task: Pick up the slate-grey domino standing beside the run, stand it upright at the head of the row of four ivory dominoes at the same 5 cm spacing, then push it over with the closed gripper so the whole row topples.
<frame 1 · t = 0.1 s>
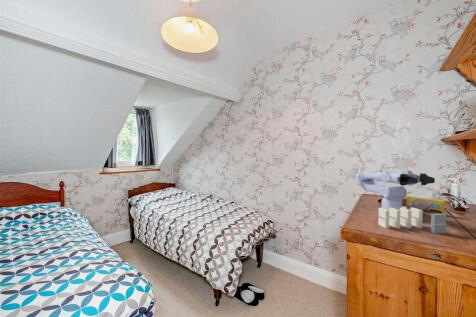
hand: (425, 180, 96), 22 cm above the cabinet, tool horizontal, fingers open, 7 cm apart
ivory domino 3: (394, 226, 100), on the cabinet
candy box: (424, 213, 120), on the cabinet
ivory domino 1: (415, 226, 100), on the cabinet
slate domino: (438, 232, 92), on the cabinet
ivory domino 2: (405, 226, 100), on the cabinet
ivory domino 4: (383, 226, 100), on the cabinet
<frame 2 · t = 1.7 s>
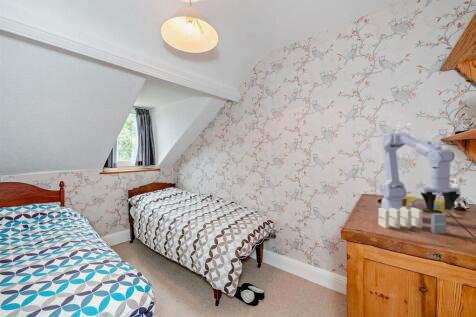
hand: (439, 209, 92), 10 cm above the cabinet, tool pointing down, fingers open, 7 cm apart
nothing on the cabinet moved.
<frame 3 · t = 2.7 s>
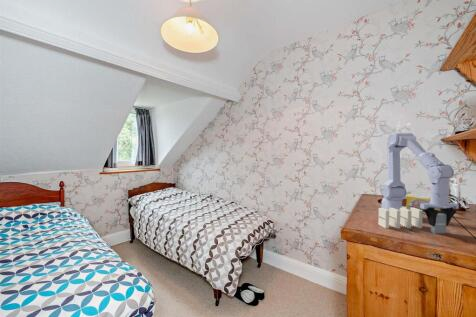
hand: (438, 225, 92), 3 cm above the cabinet, tool pointing down, fingers closed on slate domino, 5 cm apart
slate domino: (438, 232, 92), on the cabinet, touching gripper
everything else where it was.
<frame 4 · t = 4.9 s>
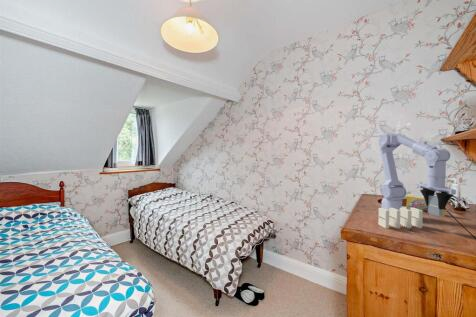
hand: (435, 207, 95), 10 cm above the cabinet, tool pointing down, fingers closed on slate domino, 5 cm apart
slate domino: (435, 214, 95), point 7 cm above the cabinet, touching gripper
everything else where it was.
when the fingers open (4 cm above the cabinet, at t = 7.3 s): slate domino drops 1 cm, on the cabinet.
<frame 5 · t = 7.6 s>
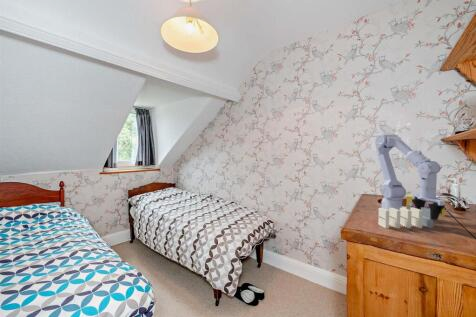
hand: (427, 216, 100), 4 cm above the cabinet, tool pointing down, fingers open, 7 cm apart
slate domino: (426, 225, 100), on the cabinet
everything else where it was.
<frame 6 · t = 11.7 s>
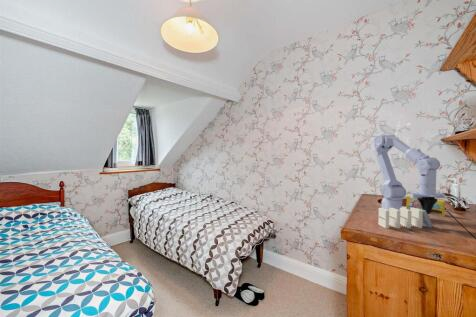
hand: (426, 213, 100), 6 cm above the cabinet, tool pointing down, fingers closed
ivory domino 1: (415, 226, 100), on the cabinet, touching slate domino
slate domino: (426, 225, 100), on the cabinet, tilted 26°, touching ivory domino 1
everything else where it was.
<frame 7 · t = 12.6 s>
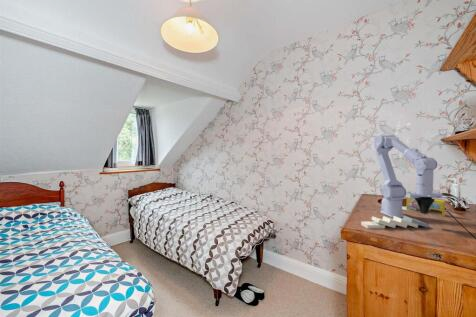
hand: (423, 213, 100), 6 cm above the cabinet, tool pointing down, fingers closed
ivory domino 3: (391, 224, 100), point 1 cm above the cabinet, tilted 72°, touching ivory domino 4
ivory domino 1: (413, 224, 100), point 1 cm above the cabinet, tilted 71°, touching ivory domino 2, slate domino
slate domino: (423, 224, 100), point 1 cm above the cabinet, tilted 71°, touching ivory domino 1
ivory domino 2: (402, 224, 100), point 1 cm above the cabinet, tilted 72°, touching ivory domino 1
ivory domino 4: (381, 224, 100), point 1 cm above the cabinet, tilted 90°, touching ivory domino 3
everything else where it was.
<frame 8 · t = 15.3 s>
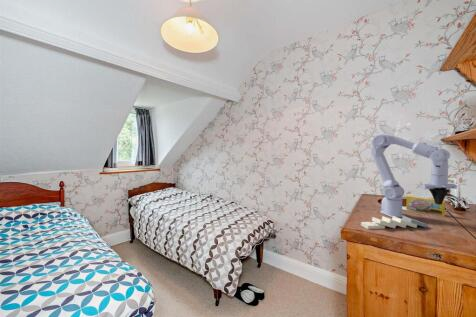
hand: (438, 204, 101), 10 cm above the cabinet, tool pointing down, fingers closed
ivory domino 3: (391, 224, 100), point 1 cm above the cabinet, tilted 72°, touching ivory domino 2
ivory domino 1: (412, 224, 100), point 1 cm above the cabinet, tilted 71°, touching slate domino
ivory domino 2: (401, 224, 100), point 1 cm above the cabinet, tilted 71°, touching ivory domino 3
ivory domino 4: (381, 225, 100), point 1 cm above the cabinet, tilted 90°
everything else where it was.
at the end: slate domino inside the target area (1.5 cm from its centre), point 0.7 cm above the cabinet; slate domino tilted 71°; ivory domino 4 tilted 90° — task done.
